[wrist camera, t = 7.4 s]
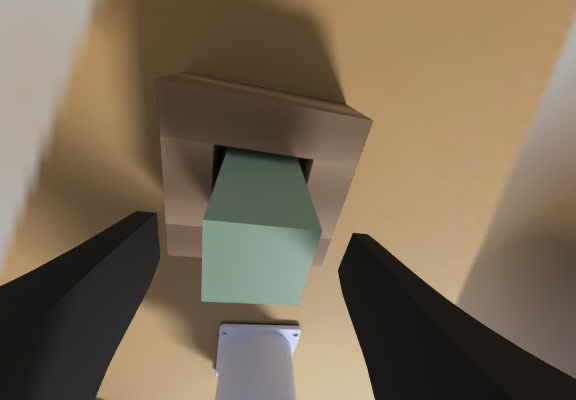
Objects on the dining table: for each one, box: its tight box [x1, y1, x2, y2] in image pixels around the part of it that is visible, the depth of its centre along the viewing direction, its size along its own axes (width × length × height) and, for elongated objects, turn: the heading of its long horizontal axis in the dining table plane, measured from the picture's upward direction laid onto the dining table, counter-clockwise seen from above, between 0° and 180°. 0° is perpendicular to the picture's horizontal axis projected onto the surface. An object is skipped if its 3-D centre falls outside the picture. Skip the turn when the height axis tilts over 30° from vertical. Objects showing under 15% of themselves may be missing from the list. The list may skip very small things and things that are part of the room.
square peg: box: [201, 146, 322, 305], centre depth 11 cm, size 4×4×8 cm
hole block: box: [156, 72, 373, 266], centre depth 14 cm, size 9×9×4 cm
